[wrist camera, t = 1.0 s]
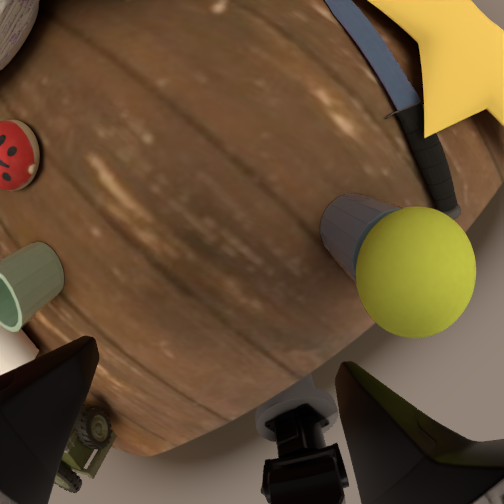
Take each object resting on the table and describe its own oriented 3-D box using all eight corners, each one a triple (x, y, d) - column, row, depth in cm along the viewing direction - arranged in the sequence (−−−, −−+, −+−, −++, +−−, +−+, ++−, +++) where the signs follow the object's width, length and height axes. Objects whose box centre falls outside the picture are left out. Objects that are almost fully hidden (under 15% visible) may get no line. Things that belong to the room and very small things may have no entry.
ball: (440, 259, 15) (505, 301, 9) (368, 319, 16) (413, 386, 10) (404, 175, 13) (484, 191, 7) (317, 242, 14) (364, 298, 8)
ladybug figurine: (-1, 115, 16) (-23, 114, 12) (54, 128, 17) (29, 126, 14) (-13, 176, 18) (-35, 180, 14) (38, 200, 19) (13, 208, 16)
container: (391, 233, 21) (441, 263, 14) (342, 272, 22) (377, 316, 15) (360, 179, 19) (410, 189, 13) (306, 220, 20) (334, 249, 14)
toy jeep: (28, 420, 29) (1, 370, 27) (135, 443, 28) (102, 383, 27) (-4, 455, 17) (-40, 401, 15) (107, 505, 16) (54, 445, 15)
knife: (478, 209, 17) (435, 232, 19) (466, 202, 19) (425, 223, 21) (338, -37, 11) (288, -21, 13) (337, -25, 13) (291, -9, 15)
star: (289, 15, 16) (454, 232, 19) (291, -25, 11) (495, 246, 14) (435, -32, 11) (546, 121, 14) (452, -53, 6) (575, 118, 8)
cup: (73, 275, 21) (29, 312, 15) (50, 306, 22) (12, 342, 16) (38, 229, 20) (-11, 252, 13) (18, 264, 21) (-24, 291, 14)
